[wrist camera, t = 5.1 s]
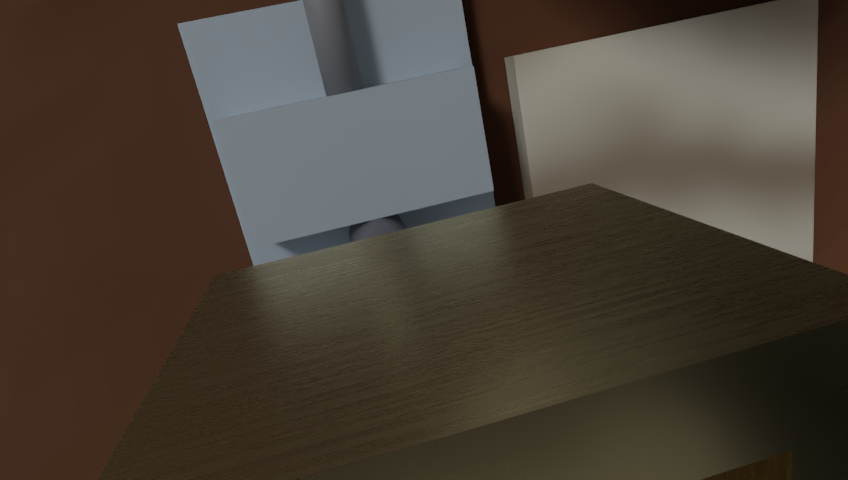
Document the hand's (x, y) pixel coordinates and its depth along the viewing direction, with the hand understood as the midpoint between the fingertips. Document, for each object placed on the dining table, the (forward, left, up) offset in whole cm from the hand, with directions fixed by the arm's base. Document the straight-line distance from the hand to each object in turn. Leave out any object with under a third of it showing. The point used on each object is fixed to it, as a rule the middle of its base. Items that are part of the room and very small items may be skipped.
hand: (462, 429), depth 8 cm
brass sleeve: (0, 0, -1) cm, 1 cm away
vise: (+2, 0, -13) cm, 13 cm away
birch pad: (-1, -12, -13) cm, 18 cm away
